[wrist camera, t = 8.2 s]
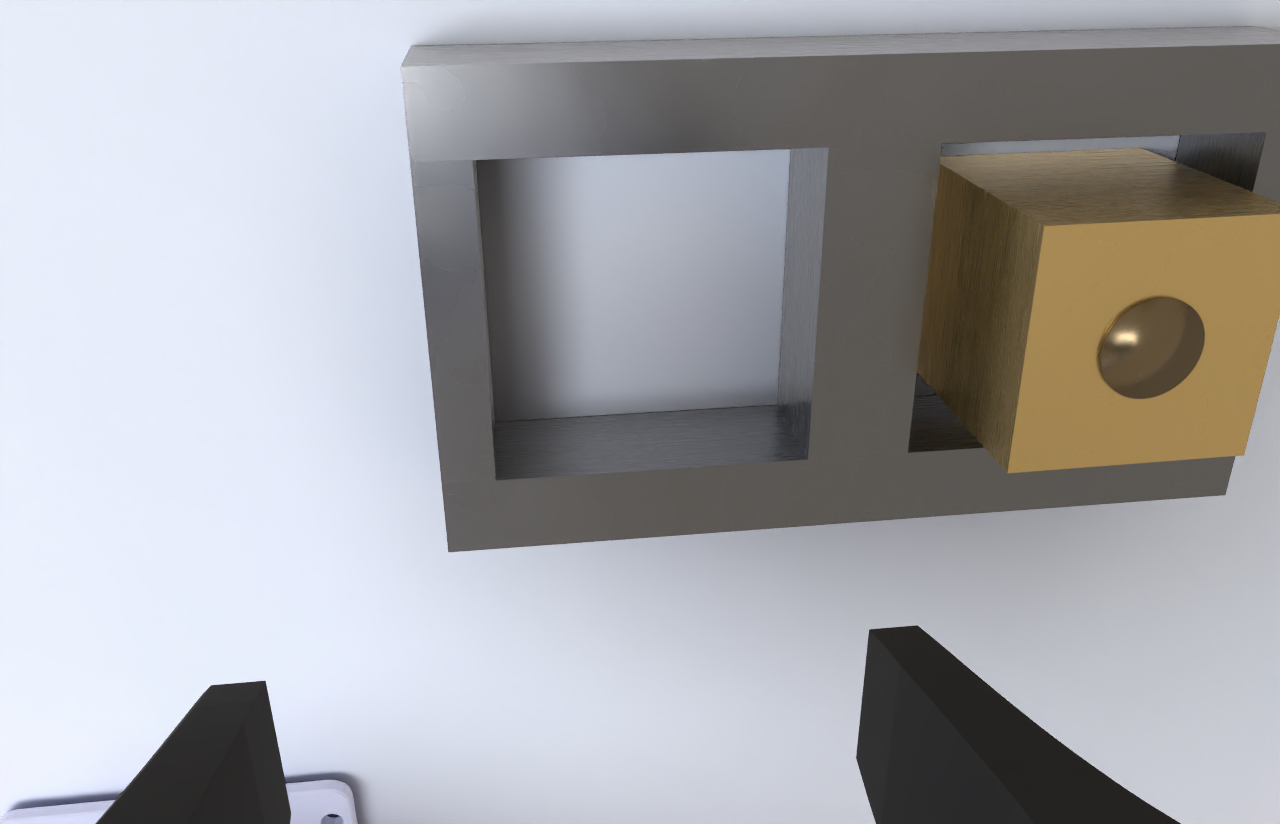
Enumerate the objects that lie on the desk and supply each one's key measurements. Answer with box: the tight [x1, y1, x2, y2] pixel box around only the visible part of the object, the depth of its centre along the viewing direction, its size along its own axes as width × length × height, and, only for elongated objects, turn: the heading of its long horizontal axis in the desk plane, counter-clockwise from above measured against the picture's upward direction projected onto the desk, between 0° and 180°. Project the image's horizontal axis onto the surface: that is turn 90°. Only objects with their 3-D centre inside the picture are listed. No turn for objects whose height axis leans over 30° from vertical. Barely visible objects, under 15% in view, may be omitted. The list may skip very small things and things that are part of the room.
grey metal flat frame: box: [401, 26, 1280, 552], centre depth 21 cm, size 9×16×2 cm, turn 90°
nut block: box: [917, 148, 1280, 473], centre depth 20 cm, size 4×4×5 cm
